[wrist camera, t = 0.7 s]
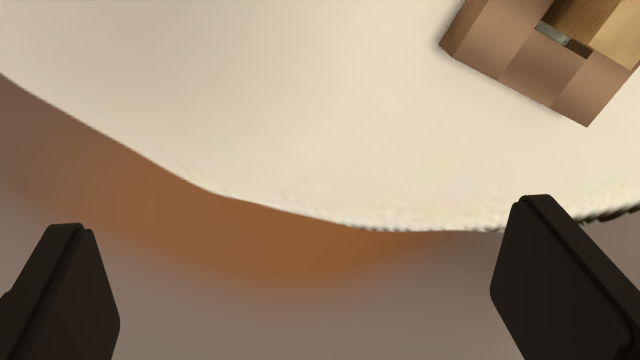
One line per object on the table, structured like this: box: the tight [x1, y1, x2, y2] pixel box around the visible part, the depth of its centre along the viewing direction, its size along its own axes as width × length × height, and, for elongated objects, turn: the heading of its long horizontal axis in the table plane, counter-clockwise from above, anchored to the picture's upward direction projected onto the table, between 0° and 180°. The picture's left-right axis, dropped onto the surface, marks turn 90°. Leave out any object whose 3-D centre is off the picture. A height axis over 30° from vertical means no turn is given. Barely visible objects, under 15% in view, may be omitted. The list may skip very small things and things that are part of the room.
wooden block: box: [540, 0, 640, 70], centre depth 33 cm, size 4×4×8 cm
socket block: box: [439, 0, 640, 127], centre depth 35 cm, size 14×14×3 cm
